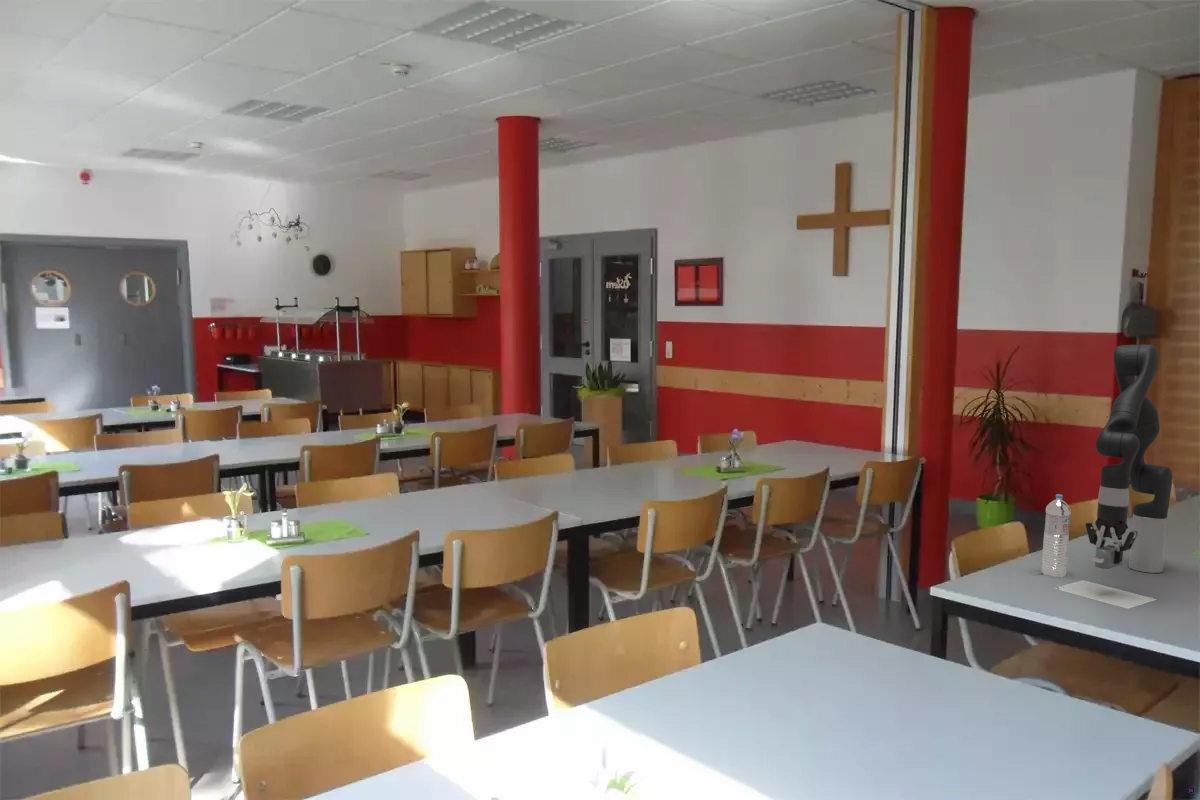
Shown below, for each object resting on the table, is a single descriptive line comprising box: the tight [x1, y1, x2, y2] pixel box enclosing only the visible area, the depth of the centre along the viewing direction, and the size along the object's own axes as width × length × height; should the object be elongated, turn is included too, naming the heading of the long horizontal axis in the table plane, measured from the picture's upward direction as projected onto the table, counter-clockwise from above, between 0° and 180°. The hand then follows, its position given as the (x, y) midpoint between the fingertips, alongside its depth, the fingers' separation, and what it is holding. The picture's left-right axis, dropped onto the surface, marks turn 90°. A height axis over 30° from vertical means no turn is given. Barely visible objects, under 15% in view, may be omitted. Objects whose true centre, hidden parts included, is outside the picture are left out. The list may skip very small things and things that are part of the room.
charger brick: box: [1091, 544, 1123, 570], centre depth 260 cm, size 12×4×5 cm, turn 124°
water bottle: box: [1041, 493, 1072, 578], centre depth 279 cm, size 7×7×25 cm
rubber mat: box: [1053, 579, 1157, 610], centre depth 261 cm, size 16×21×1 cm
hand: (1108, 561), depth 261 cm, fingers closed on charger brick, 4 cm apart
